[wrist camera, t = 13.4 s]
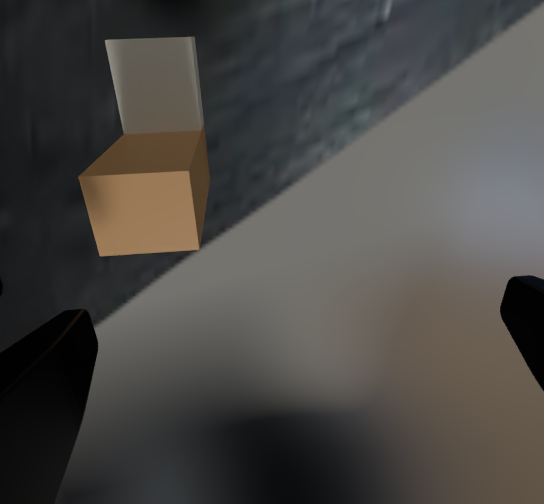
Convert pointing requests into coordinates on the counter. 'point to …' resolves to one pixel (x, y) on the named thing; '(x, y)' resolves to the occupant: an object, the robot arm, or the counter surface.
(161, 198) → the tan and grey l-block
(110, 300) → the counter surface
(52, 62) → the counter surface
